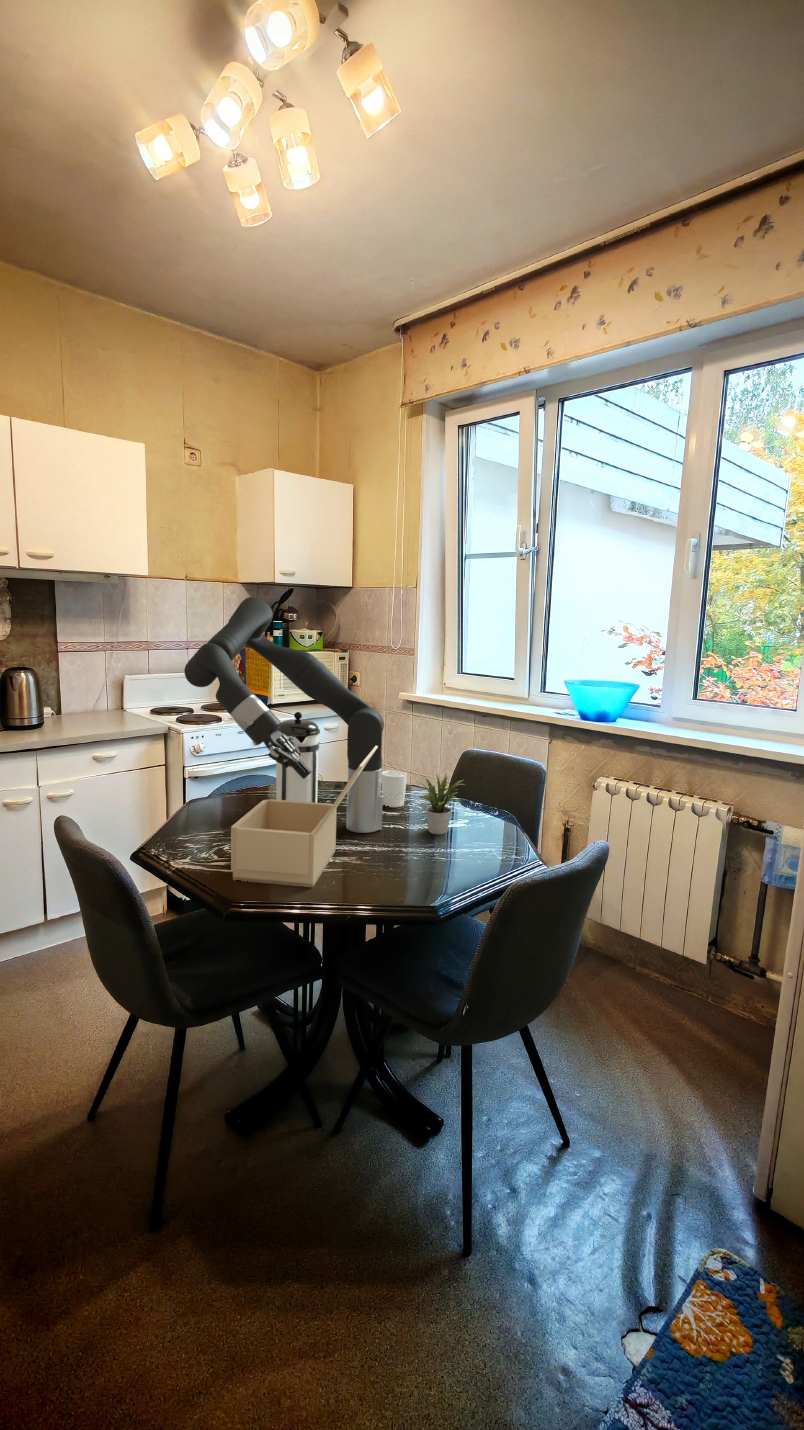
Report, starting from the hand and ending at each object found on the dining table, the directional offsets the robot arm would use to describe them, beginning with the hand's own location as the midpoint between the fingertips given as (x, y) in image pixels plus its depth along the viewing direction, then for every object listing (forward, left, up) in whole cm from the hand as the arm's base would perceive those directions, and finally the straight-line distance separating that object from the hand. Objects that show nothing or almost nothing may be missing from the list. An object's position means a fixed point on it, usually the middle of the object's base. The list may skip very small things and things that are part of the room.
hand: (307, 775), depth 148 cm
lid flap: (-9, +3, -2) cm, 9 cm away
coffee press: (-4, -44, -22) cm, 49 cm away
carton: (+4, -3, -22) cm, 23 cm away
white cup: (-35, -45, -22) cm, 61 cm away
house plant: (-40, -17, -22) cm, 49 cm away
